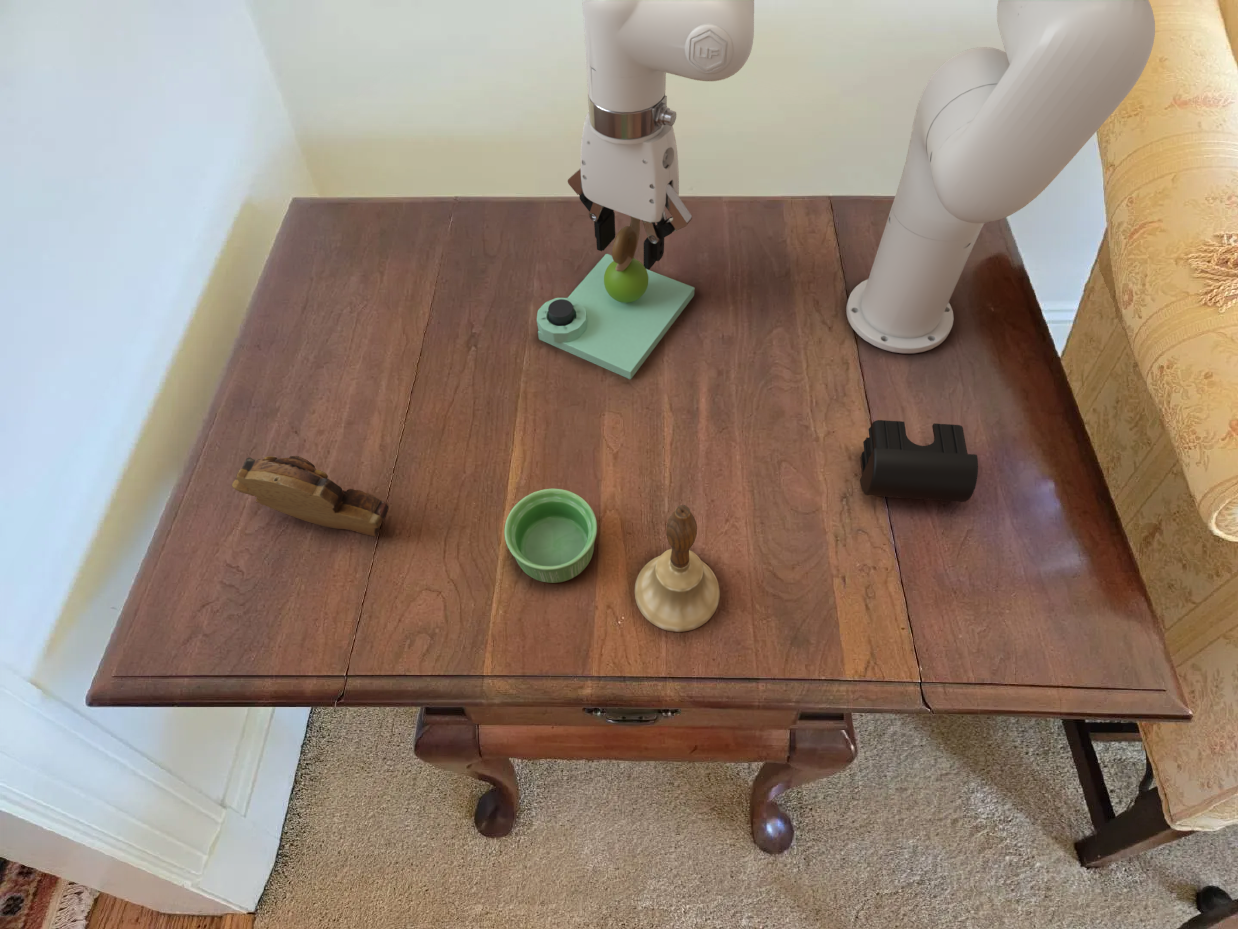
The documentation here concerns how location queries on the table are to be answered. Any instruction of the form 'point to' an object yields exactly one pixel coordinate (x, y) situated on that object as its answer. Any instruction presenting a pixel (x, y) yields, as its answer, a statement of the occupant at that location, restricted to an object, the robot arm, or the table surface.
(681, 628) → the hand bell
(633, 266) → the snail figurine
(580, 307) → the scale
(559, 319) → the button
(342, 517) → the wooden carving
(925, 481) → the end cap
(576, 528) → the ramekin
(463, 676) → the table surface
